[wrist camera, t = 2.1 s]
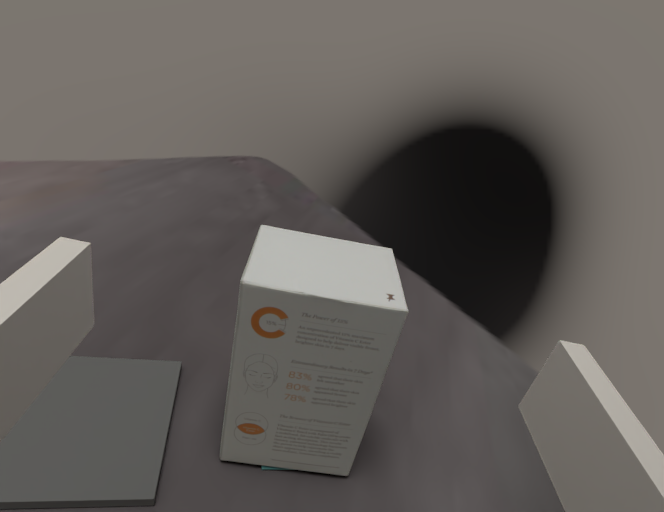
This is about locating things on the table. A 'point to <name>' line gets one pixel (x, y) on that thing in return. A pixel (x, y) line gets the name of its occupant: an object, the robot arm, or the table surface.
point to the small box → (309, 350)
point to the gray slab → (91, 436)
